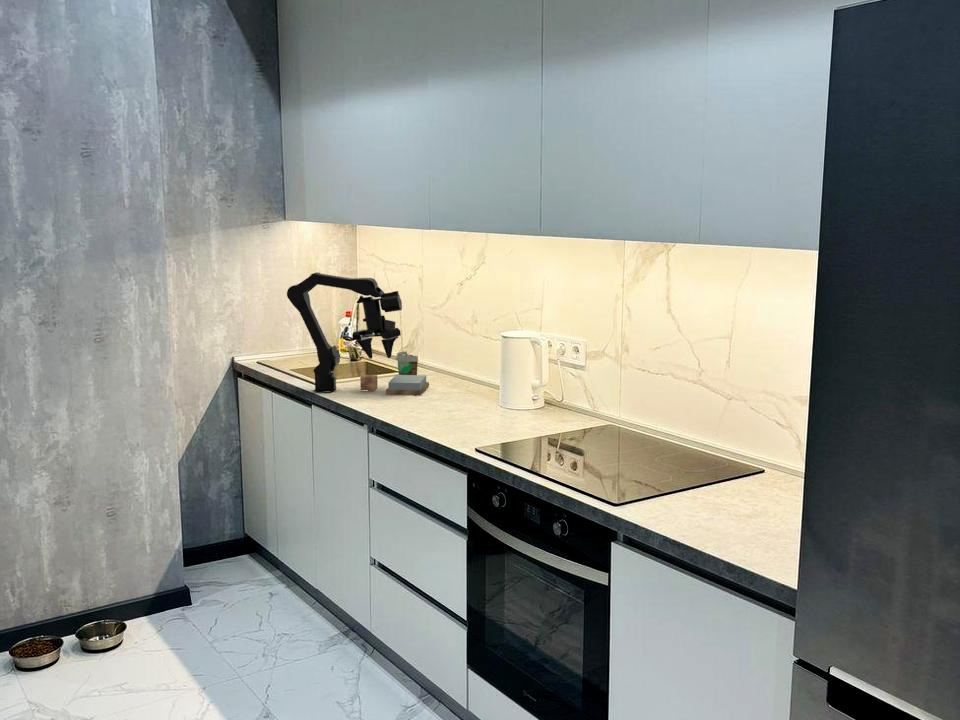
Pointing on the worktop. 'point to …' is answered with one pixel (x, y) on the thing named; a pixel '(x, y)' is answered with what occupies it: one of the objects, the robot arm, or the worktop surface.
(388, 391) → the walnut slab
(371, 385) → the terracotta block
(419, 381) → the slate grey slab
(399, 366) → the food container
